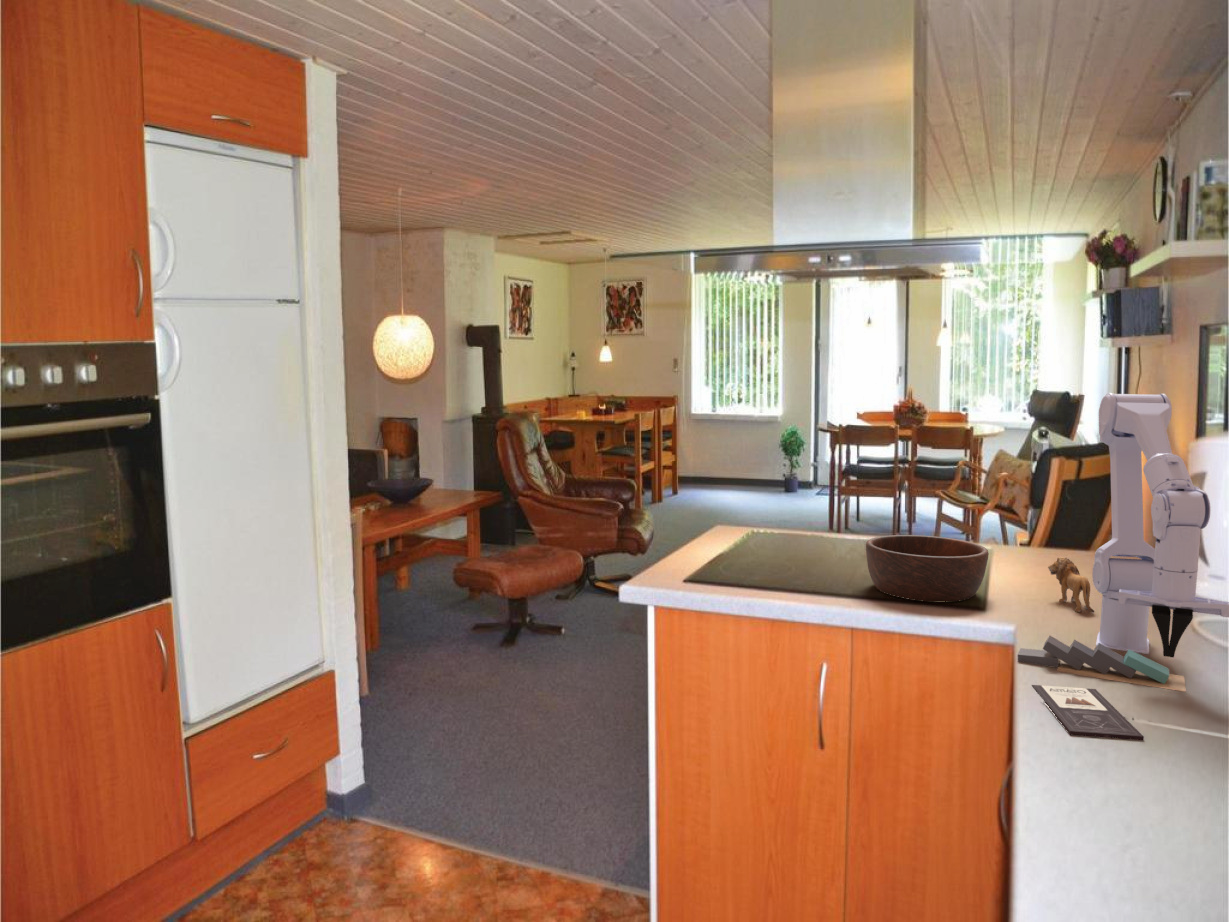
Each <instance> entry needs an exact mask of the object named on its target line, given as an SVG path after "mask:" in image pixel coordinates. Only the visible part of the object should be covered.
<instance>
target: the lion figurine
mask: <svg viewBox="0 0 1229 922" xmlns="http://www.w3.org/2000/svg"><path fill="white" fill-rule="evenodd" d="M1047 569H1048V571H1049V572H1050V575H1052V576H1053V575H1056V576H1055V578H1056V580H1058V582H1059V585H1060V586H1061V587H1060V590H1061V591H1060V592H1061V595H1062V597H1061V598H1060V599H1059V600H1058V602H1060V603H1066V602H1067V601H1068V595H1067V591H1068V590H1070V591H1072V596H1071V599H1070V602H1072V603H1073V602H1074V603H1075V604H1076V608H1074V612H1076V613H1080V612H1082V602H1081V600H1080V594H1081V592H1082V597H1083V602H1084V604H1085V605H1084V607H1083V608H1084V609H1085V610H1088V612H1089V613H1092V614H1093V613H1094V614H1095V610H1094V609H1093V608H1092V607H1091V606H1090V605H1091V604H1090V598H1091V597H1090V596H1091V584H1090V581H1089V578H1087V577H1086V576H1083V575H1081V574H1080V571H1079V569H1078V567H1077V565H1075V563H1074V562H1073V561H1072V560H1070V559H1069V558H1067V557H1065V556H1059V557H1057V559H1056V561H1054V562H1053V564H1051V565H1048V567H1047Z"/></svg>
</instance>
